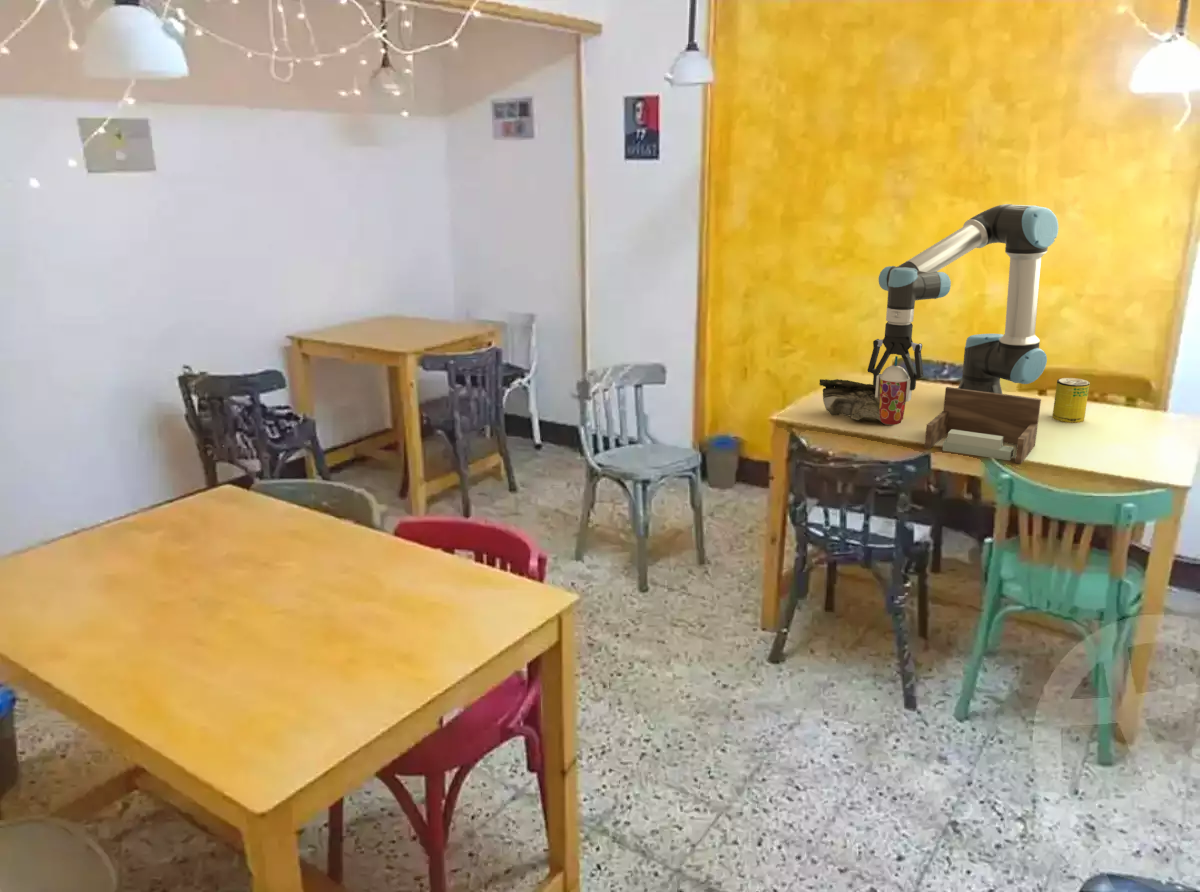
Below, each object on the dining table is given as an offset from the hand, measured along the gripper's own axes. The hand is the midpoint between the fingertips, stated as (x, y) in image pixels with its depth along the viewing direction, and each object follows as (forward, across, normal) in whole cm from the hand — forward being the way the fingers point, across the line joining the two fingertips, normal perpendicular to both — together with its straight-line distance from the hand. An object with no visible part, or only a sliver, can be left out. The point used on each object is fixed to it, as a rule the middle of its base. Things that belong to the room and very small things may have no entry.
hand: (892, 398), depth 276 cm
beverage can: (+12, +41, +45) cm, 62 cm away
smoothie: (+8, 0, 0) cm, 8 cm away
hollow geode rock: (+12, -15, +14) cm, 24 cm away
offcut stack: (+12, +26, -3) cm, 29 cm away
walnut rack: (+12, +25, +3) cm, 28 cm away
